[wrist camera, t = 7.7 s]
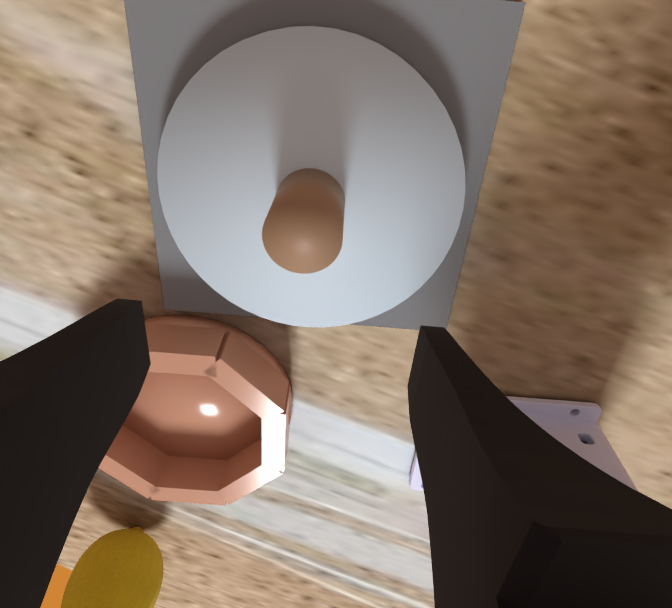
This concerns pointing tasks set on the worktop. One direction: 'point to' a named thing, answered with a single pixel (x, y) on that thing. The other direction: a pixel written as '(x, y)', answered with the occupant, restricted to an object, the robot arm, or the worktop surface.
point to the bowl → (203, 415)
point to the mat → (353, 16)
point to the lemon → (117, 573)
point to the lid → (311, 176)
